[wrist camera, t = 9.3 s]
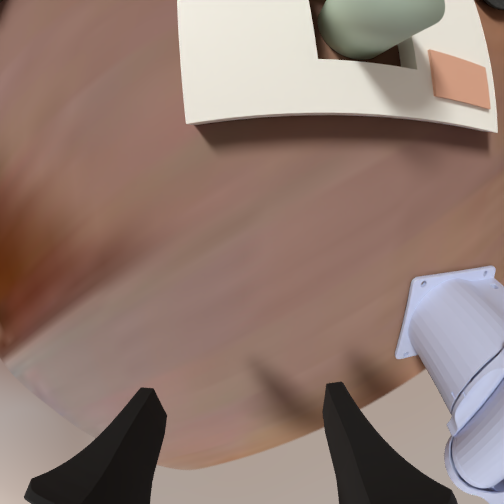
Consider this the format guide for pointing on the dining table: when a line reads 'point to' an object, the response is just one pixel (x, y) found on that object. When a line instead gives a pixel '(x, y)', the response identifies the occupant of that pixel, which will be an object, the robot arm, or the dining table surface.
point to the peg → (374, 24)
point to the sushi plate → (496, 4)
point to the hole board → (328, 68)
